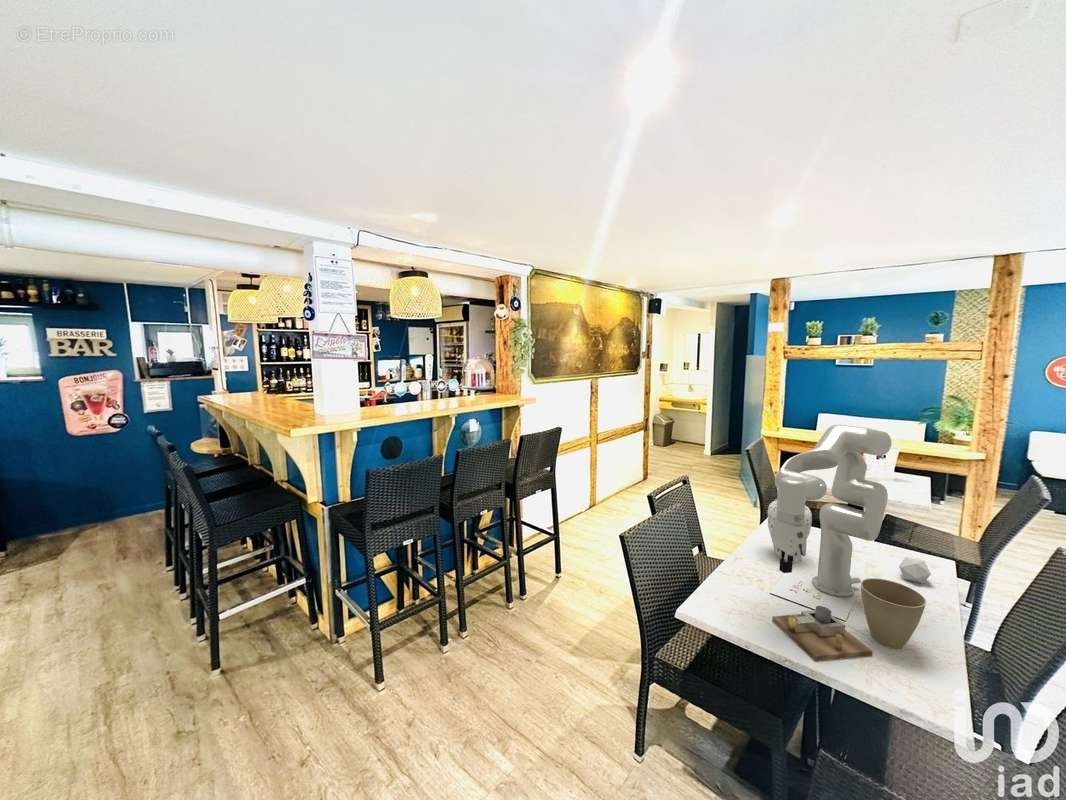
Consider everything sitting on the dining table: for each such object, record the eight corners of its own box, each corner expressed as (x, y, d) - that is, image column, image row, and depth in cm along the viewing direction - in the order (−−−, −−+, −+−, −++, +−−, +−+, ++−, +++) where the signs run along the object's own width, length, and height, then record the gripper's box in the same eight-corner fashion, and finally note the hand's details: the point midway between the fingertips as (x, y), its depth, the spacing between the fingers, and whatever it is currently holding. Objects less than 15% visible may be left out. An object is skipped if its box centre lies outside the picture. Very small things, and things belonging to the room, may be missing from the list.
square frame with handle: (823, 617, 136) (824, 607, 135) (844, 634, 128) (845, 623, 127) (779, 621, 134) (780, 611, 134) (798, 638, 126) (799, 627, 126)
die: (919, 590, 155) (940, 570, 154) (893, 570, 161) (913, 551, 159) (915, 588, 162) (935, 569, 161) (890, 569, 167) (909, 551, 166)
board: (822, 616, 139) (824, 595, 138) (872, 655, 121) (874, 631, 121) (772, 620, 137) (773, 599, 136) (815, 661, 119) (817, 636, 118)
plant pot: (849, 620, 137) (854, 574, 135) (907, 632, 132) (912, 584, 130) (865, 650, 124) (870, 599, 122) (930, 664, 118) (936, 611, 116)
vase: (818, 565, 172) (825, 482, 168) (779, 566, 171) (786, 482, 167) (791, 546, 188) (797, 470, 184) (756, 547, 187) (761, 471, 183)
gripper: (819, 526, 126) (814, 583, 128) (784, 507, 141) (780, 559, 143) (796, 527, 125) (791, 585, 128) (763, 508, 140) (759, 560, 142)
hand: (785, 571), depth 135 cm, fingers closed
